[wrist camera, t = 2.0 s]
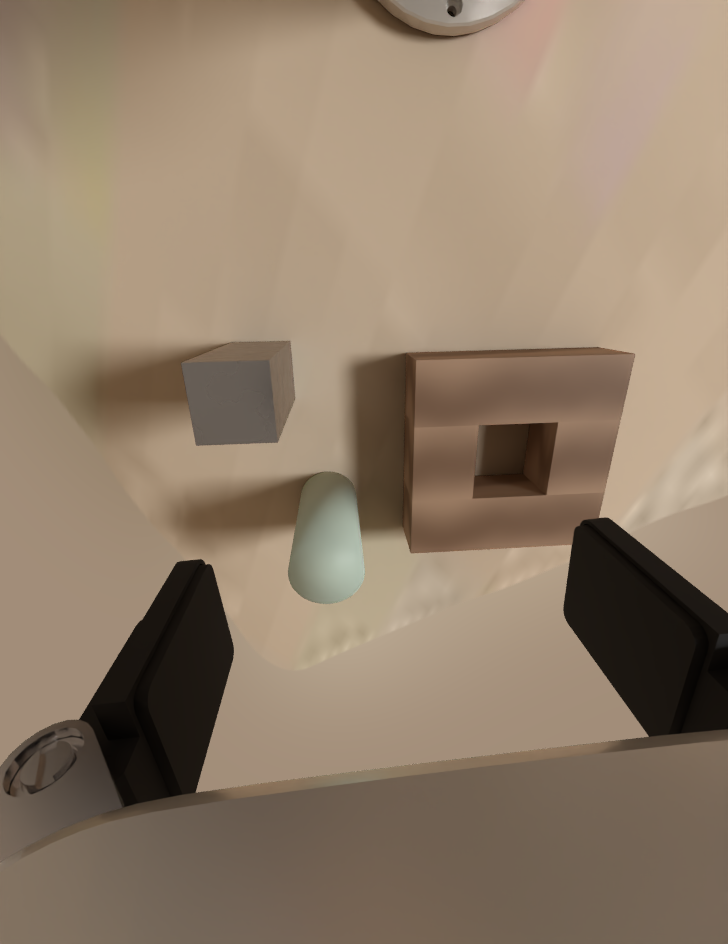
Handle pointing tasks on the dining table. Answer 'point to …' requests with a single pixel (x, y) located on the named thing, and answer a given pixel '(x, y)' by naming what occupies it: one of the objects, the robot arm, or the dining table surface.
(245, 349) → the square peg
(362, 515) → the dining table surface
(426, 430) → the socket block
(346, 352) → the dining table surface
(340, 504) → the round peg
